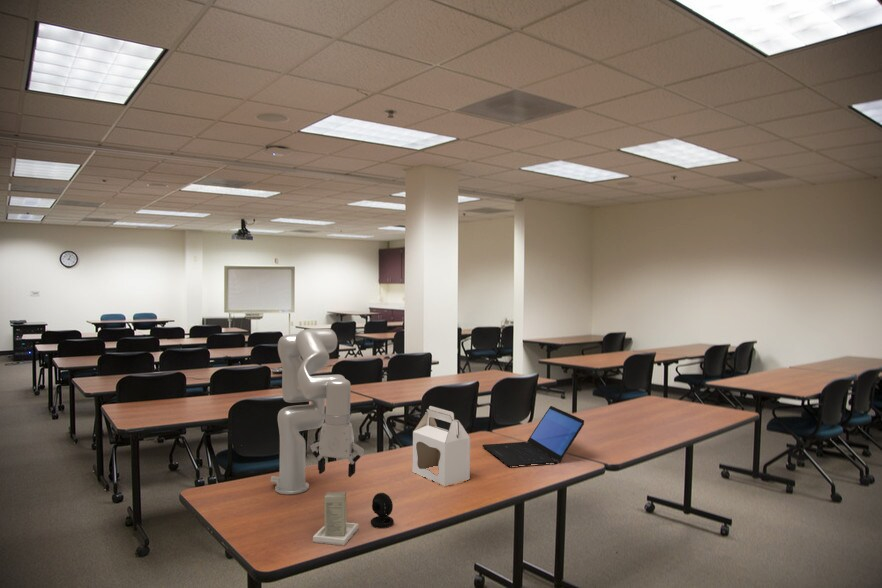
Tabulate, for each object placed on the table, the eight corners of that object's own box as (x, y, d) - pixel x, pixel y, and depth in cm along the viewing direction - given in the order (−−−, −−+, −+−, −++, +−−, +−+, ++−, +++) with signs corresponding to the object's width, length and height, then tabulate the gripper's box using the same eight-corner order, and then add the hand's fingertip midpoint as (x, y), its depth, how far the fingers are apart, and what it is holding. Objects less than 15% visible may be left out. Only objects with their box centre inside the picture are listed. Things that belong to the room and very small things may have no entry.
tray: (312, 542, 167) (313, 536, 167) (328, 526, 179) (329, 520, 179) (344, 546, 165) (344, 540, 165) (358, 529, 177) (358, 523, 177)
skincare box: (346, 530, 175) (347, 491, 175) (344, 536, 170) (345, 496, 170) (326, 530, 175) (326, 491, 175) (323, 536, 170) (324, 496, 170)
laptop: (481, 448, 272) (482, 408, 272) (550, 443, 283) (551, 405, 283) (508, 469, 241) (509, 424, 241) (585, 463, 251) (586, 420, 251)
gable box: (411, 472, 233) (412, 406, 233) (436, 466, 242) (437, 402, 242) (444, 487, 216) (445, 415, 216) (470, 480, 224) (471, 411, 224)
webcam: (365, 524, 181) (365, 493, 181) (380, 517, 187) (380, 487, 187) (384, 530, 176) (384, 499, 176) (398, 522, 183) (399, 492, 183)
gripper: (306, 420, 170) (305, 475, 171) (359, 424, 167) (358, 481, 167) (316, 414, 178) (315, 467, 178) (368, 418, 174) (367, 472, 174)
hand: (336, 473), depth 173 cm, fingers open, 9 cm apart
